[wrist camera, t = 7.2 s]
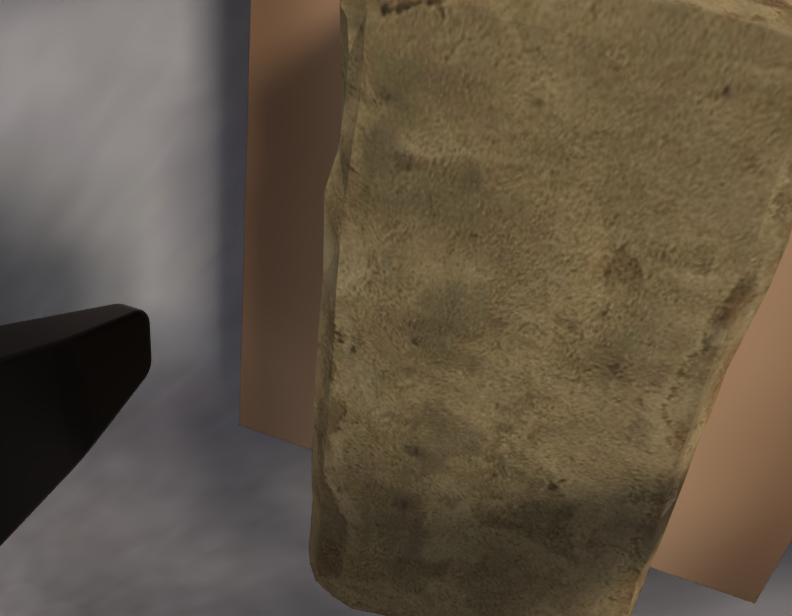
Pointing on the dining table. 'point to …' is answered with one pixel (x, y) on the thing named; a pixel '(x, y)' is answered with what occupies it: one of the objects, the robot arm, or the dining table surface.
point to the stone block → (535, 289)
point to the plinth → (301, 296)
